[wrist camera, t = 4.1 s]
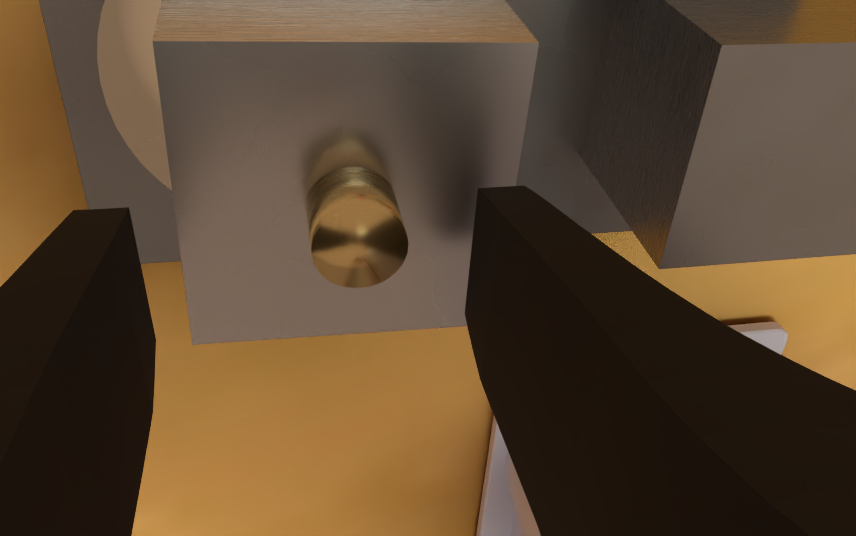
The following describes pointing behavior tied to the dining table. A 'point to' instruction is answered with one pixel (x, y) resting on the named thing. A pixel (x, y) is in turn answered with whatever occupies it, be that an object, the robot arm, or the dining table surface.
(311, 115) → the block
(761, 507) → the robot arm
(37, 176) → the dining table surface
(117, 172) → the plate
